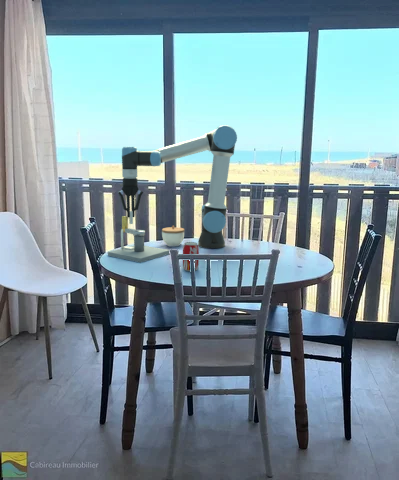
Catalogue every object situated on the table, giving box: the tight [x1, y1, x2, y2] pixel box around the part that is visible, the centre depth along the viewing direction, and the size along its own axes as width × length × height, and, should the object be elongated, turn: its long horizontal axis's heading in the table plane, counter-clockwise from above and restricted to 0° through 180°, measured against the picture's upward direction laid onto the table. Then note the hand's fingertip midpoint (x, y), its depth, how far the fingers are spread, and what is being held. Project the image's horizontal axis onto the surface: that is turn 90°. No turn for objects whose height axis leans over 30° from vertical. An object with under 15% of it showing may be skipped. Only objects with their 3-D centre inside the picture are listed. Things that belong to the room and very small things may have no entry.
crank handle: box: [121, 215, 146, 237], centre depth 208 cm, size 16×6×8 cm, turn 48°
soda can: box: [182, 241, 200, 272], centre depth 180 cm, size 7×7×12 cm
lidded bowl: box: [161, 225, 185, 247], centre depth 231 cm, size 13×13×11 cm
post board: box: [107, 228, 170, 263], centre depth 206 cm, size 22×22×12 cm
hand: (131, 223), depth 214 cm, fingers closed
